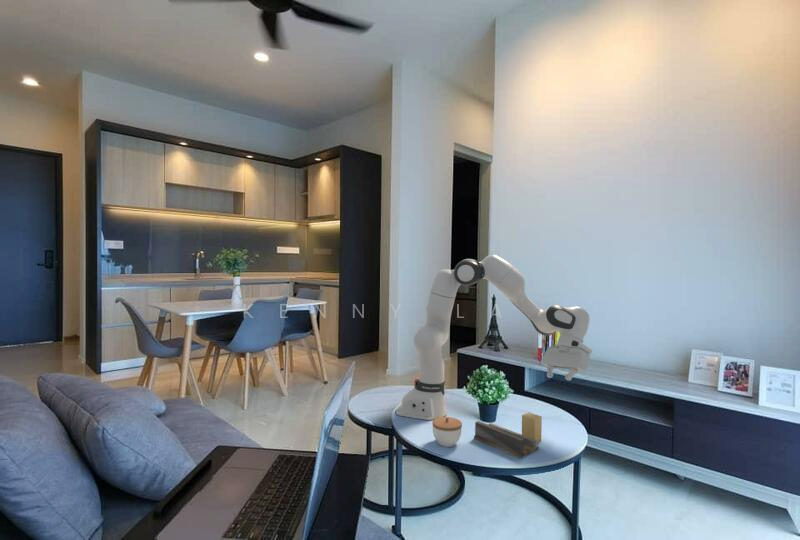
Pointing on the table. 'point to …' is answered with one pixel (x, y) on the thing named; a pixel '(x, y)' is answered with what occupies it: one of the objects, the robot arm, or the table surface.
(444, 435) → the lidded jar
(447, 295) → the robot arm
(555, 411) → the table surface
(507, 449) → the base
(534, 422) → the ochre block
